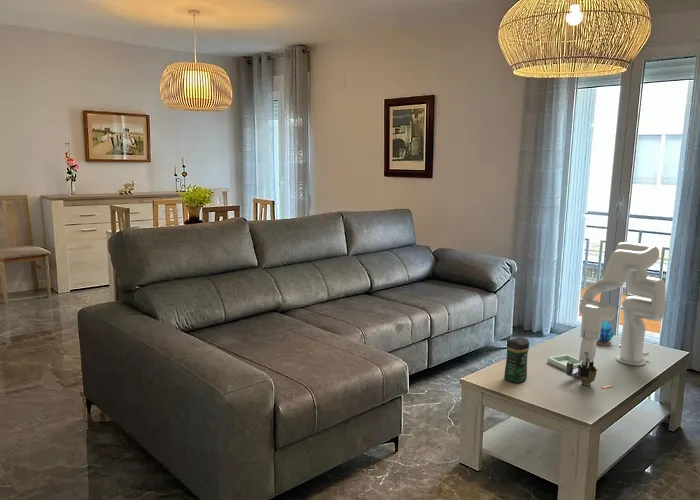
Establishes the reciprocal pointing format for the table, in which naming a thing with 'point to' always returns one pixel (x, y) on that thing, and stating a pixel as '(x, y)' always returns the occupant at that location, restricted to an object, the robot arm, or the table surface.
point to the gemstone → (605, 334)
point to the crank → (571, 370)
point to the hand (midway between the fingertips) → (586, 373)
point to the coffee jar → (516, 360)
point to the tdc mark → (607, 386)
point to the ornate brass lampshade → (590, 378)
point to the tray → (564, 361)
